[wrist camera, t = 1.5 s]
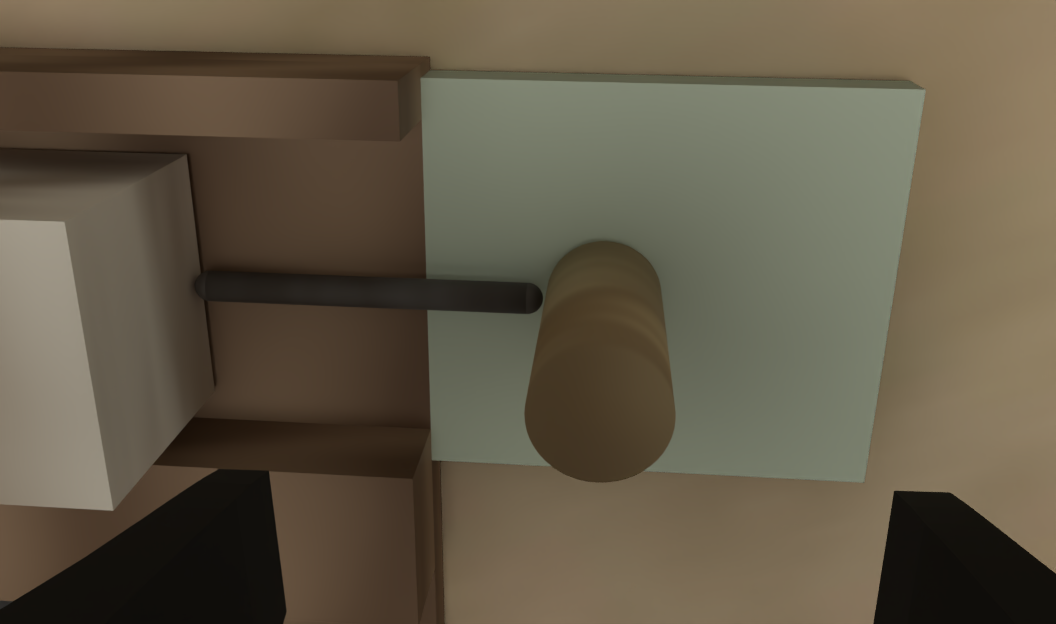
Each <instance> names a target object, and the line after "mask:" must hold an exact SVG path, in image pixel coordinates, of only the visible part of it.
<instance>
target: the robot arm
mask: <svg viewBox="0 0 1056 624" xmlns="http://www.w3.org/2000/svg"><path fill="white" fill-rule="evenodd" d="M286 612H287V610H286V602H285V594H284V586H283V578H282V570H281V562H280V554H279V546H278V538H277V531H276V523H275V515H274V507H273V499H272V491H271V483H270V475H269V471H266V470H236V469H218V470H216V471H214V472H213V473H211V474H209V475H207V476H206V477H204V478H202V479H201V480H199V481H198V482H196V483H194V484H193V485H191V486H190V487H188V488H187V489H185V490H184V491H182V492H181V493H179V494H178V495H176V496H175V497H173V498H172V499H170V500H169V501H167V502H166V503H165V504H163V505H162V506H160V507H159V508H157V509H156V510H154V511H153V512H151V513H150V514H148V515H147V516H145V517H144V518H143V519H141V520H140V521H138V522H137V523H135V524H134V525H132V526H131V527H129V528H128V529H126V530H125V531H123V532H122V533H120V534H119V535H117V536H116V537H114V538H113V539H111V540H110V541H108V542H107V543H105V544H104V545H102V546H101V547H99V548H98V549H96V550H95V551H93V552H92V553H90V554H89V555H87V556H86V557H84V558H83V559H81V560H80V561H78V562H76V563H75V564H73V565H71V566H70V567H68V568H67V569H65V570H63V571H62V572H60V573H58V574H57V575H55V576H54V577H52V578H50V579H49V580H47V581H45V582H44V583H42V584H41V585H39V586H37V587H36V588H34V589H32V590H31V591H29V592H28V593H26V594H24V595H23V596H21V597H19V598H18V599H16V600H15V601H13V602H11V603H10V604H8V605H6V606H5V607H3V608H1V609H0V624H283V623H284V619H285V616H286ZM874 624H1056V573H1054V572H1053V571H1052V570H1050V569H1049V568H1048V567H1047V566H1045V565H1044V564H1043V563H1041V562H1040V561H1039V560H1037V559H1036V558H1035V557H1034V556H1032V555H1031V554H1030V553H1029V552H1027V551H1026V550H1025V549H1024V548H1022V547H1021V546H1020V545H1018V544H1017V543H1016V542H1015V541H1013V540H1012V539H1011V538H1010V537H1008V536H1007V535H1006V534H1004V533H1003V532H1002V531H1001V530H999V529H998V528H997V527H996V526H994V525H993V524H992V523H990V522H989V521H988V520H987V519H985V518H984V517H983V516H982V515H980V514H979V513H978V512H976V511H975V510H974V509H972V508H971V507H970V506H968V505H967V504H966V503H964V502H963V501H961V500H960V499H959V498H957V497H956V496H954V495H953V494H951V493H945V492H914V491H894V496H893V502H892V508H891V515H890V521H889V528H888V534H887V541H886V547H885V553H884V560H883V566H882V573H881V579H880V586H879V592H878V598H877V605H876V611H875V618H874Z"/></svg>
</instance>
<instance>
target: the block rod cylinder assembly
mask: <svg viewBox="0 0 1056 624" xmlns="http://www.w3.org/2000/svg"><path fill="white" fill-rule="evenodd" d="M204 300H206V301H216V302H241V303H265V304H290V305H315V306H339V307H364V308H389V309H413V310H438V311H462V312H487V313H512V314H531V313H534V312H536V311H537V310H538V309H539V308H540V307H541V305H542V303H543V294H542V292H541V290H540V288H539V287H538V286H536V285H535V284H532V283H524V282H498V281H472V280H445V279H419V278H393V277H367V276H341V275H315V274H288V273H262V272H236V271H205V272H203V273H201V271H200V263H199V254H198V246H197V237H196V229H195V221H194V212H193V204H192V195H191V187H190V178H189V170H188V162H187V154H157V153H123V152H89V151H55V150H21V149H0V504H4V505H22V506H40V507H57V508H75V509H92V510H110V511H114V509H115V508H116V507H117V506H118V505H119V504H120V502H121V501H122V500H123V499H124V498H125V496H126V495H127V494H128V493H129V492H130V491H131V489H132V488H133V487H134V486H135V485H136V483H137V482H138V481H139V480H140V479H141V478H142V476H143V475H144V474H145V473H146V472H147V470H148V469H149V468H150V467H151V466H152V465H153V463H154V462H155V461H156V460H157V459H158V458H159V456H160V455H161V454H162V453H163V452H164V450H165V449H166V448H167V447H168V446H169V445H170V443H171V442H172V441H173V440H174V439H175V437H176V436H177V435H178V434H179V433H180V432H181V430H182V429H183V428H184V427H185V426H186V425H187V423H188V422H189V421H190V420H191V419H192V417H193V416H194V415H195V414H196V413H197V412H198V410H199V409H200V408H201V407H202V406H203V404H204V403H205V402H206V401H207V400H208V399H209V397H210V396H211V395H212V394H213V393H214V391H215V389H214V381H213V372H212V364H211V355H210V347H209V339H208V330H207V322H206V313H205V305H204ZM524 417H525V425H526V430H527V433H528V436H529V439H530V441H531V443H532V444H533V446H534V448H535V449H536V451H537V452H538V453H539V455H540V456H541V457H542V458H543V459H544V460H545V461H546V462H547V463H548V464H550V465H551V466H552V467H553V468H555V469H557V470H558V471H560V472H562V473H564V474H566V475H568V476H570V477H573V478H576V479H579V480H584V481H589V482H613V481H619V480H623V479H627V478H629V477H632V476H635V475H637V474H639V473H641V472H643V471H644V470H645V469H647V468H648V467H650V466H651V465H652V464H653V463H655V462H656V461H657V460H658V459H659V457H660V456H661V455H662V454H663V453H664V451H665V450H666V448H667V447H668V445H669V443H670V440H671V438H672V435H673V432H674V428H675V421H676V412H675V403H674V395H673V386H672V378H671V369H670V361H669V352H668V344H667V335H666V327H665V318H664V309H663V301H662V292H661V285H660V281H659V278H658V275H657V273H656V271H655V269H654V268H653V266H652V265H651V263H650V262H649V261H648V260H647V259H646V258H645V257H644V256H643V255H642V254H641V253H639V252H638V251H636V250H635V249H633V248H631V247H629V246H626V245H624V244H621V243H616V242H610V241H597V242H591V243H587V244H584V245H581V246H579V247H577V248H575V249H573V250H572V251H570V252H569V253H567V254H566V255H565V256H564V257H563V258H562V259H561V260H560V261H559V262H558V263H557V265H556V266H555V268H554V269H553V271H552V273H551V276H550V278H549V282H548V286H547V291H546V296H545V302H544V307H543V312H542V318H541V323H540V328H539V333H538V339H537V344H536V349H535V355H534V360H533V365H532V370H531V376H530V381H529V386H528V392H527V397H526V402H525V411H524Z"/></svg>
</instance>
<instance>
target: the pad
mask: <svg viewBox="0 0 1056 624" xmlns="http://www.w3.org/2000/svg"><path fill="white" fill-rule="evenodd" d="M925 91H926V90H925V89H924V88H922V87H920V86H918V85H917V84H915V83H913V82H911V81H891V80H846V79H802V78H758V77H713V76H669V75H625V74H581V73H536V72H492V71H448V70H430V71H428V72H427V73H426V74H425V75H424V76H422V77H421V111H422V145H423V179H424V212H425V246H426V279H445V280H472V281H498V282H524V283H532V284H535V285H536V286H538V287H539V288H540V290H541V292H542V294H543V303H542V305H541V307H540V308H539V309H538V310H537V311H536V312H534V313H531V314H512V313H487V312H462V311H438V310H427V314H428V348H429V382H430V416H431V450H432V460H437V461H456V462H476V463H495V464H514V465H533V466H551V465H550V464H548V463H547V462H546V461H545V460H544V459H543V458H542V457H541V456H540V455H539V453H538V452H537V451H536V449H535V448H534V446H533V444H532V443H531V441H530V439H529V436H528V433H527V430H526V425H525V417H524V411H525V402H526V397H527V392H528V386H529V381H530V376H531V370H532V365H533V360H534V355H535V349H536V344H537V339H538V333H539V328H540V323H541V318H542V312H543V307H544V302H545V296H546V291H547V286H548V282H549V278H550V276H551V273H552V271H553V269H554V268H555V266H556V265H557V263H558V262H559V261H560V260H561V259H562V258H563V257H564V256H565V255H566V254H567V253H569V252H570V251H572V250H573V249H575V248H577V247H579V246H581V245H584V244H587V243H591V242H597V241H610V242H616V243H621V244H624V245H626V246H629V247H631V248H633V249H635V250H636V251H638V252H639V253H641V254H642V255H643V256H644V257H645V258H646V259H647V260H648V261H649V262H650V263H651V265H652V266H653V268H654V269H655V271H656V273H657V275H658V278H659V281H660V285H661V292H662V301H663V309H664V318H665V327H666V335H667V344H668V352H669V361H670V369H671V378H672V386H673V395H674V403H675V412H676V421H675V428H674V432H673V435H672V438H671V440H670V443H669V445H668V447H667V448H666V450H665V451H664V453H663V454H662V455H661V456H660V457H659V459H658V460H657V461H656V462H655V463H653V464H652V465H651V466H650V467H648V468H647V469H645V470H644V471H649V472H669V473H688V474H707V475H727V476H746V477H765V478H784V479H804V480H823V481H842V482H862V483H864V480H865V474H866V468H867V461H868V455H869V448H870V442H871V436H872V429H873V423H874V417H875V410H876V404H877V397H878V391H879V385H880V378H881V372H882V365H883V359H884V353H885V346H886V340H887V334H888V327H889V321H890V314H891V308H892V302H893V295H894V289H895V282H896V276H897V270H898V263H899V257H900V251H901V244H902V238H903V231H904V225H905V219H906V212H907V206H908V200H909V193H910V187H911V180H912V174H913V168H914V161H915V155H916V148H917V142H918V136H919V129H920V123H921V117H922V110H923V104H924V97H925Z"/></svg>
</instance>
